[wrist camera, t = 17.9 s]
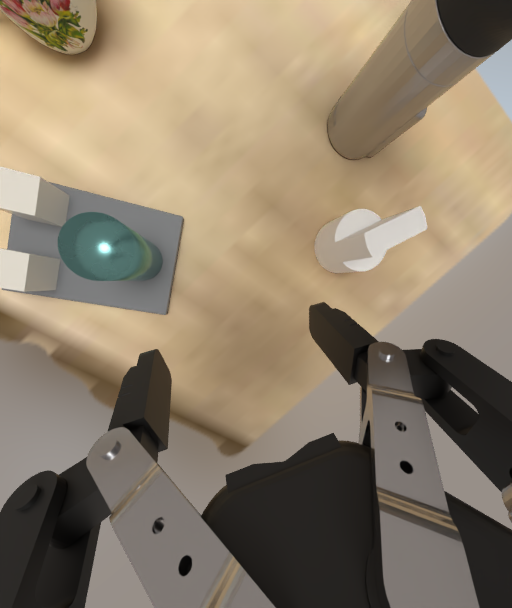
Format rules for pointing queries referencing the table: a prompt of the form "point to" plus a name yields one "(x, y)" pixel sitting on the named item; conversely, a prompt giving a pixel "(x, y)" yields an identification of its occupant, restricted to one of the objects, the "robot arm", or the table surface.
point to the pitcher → (55, 22)
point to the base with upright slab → (364, 238)
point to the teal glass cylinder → (107, 249)
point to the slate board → (118, 294)
